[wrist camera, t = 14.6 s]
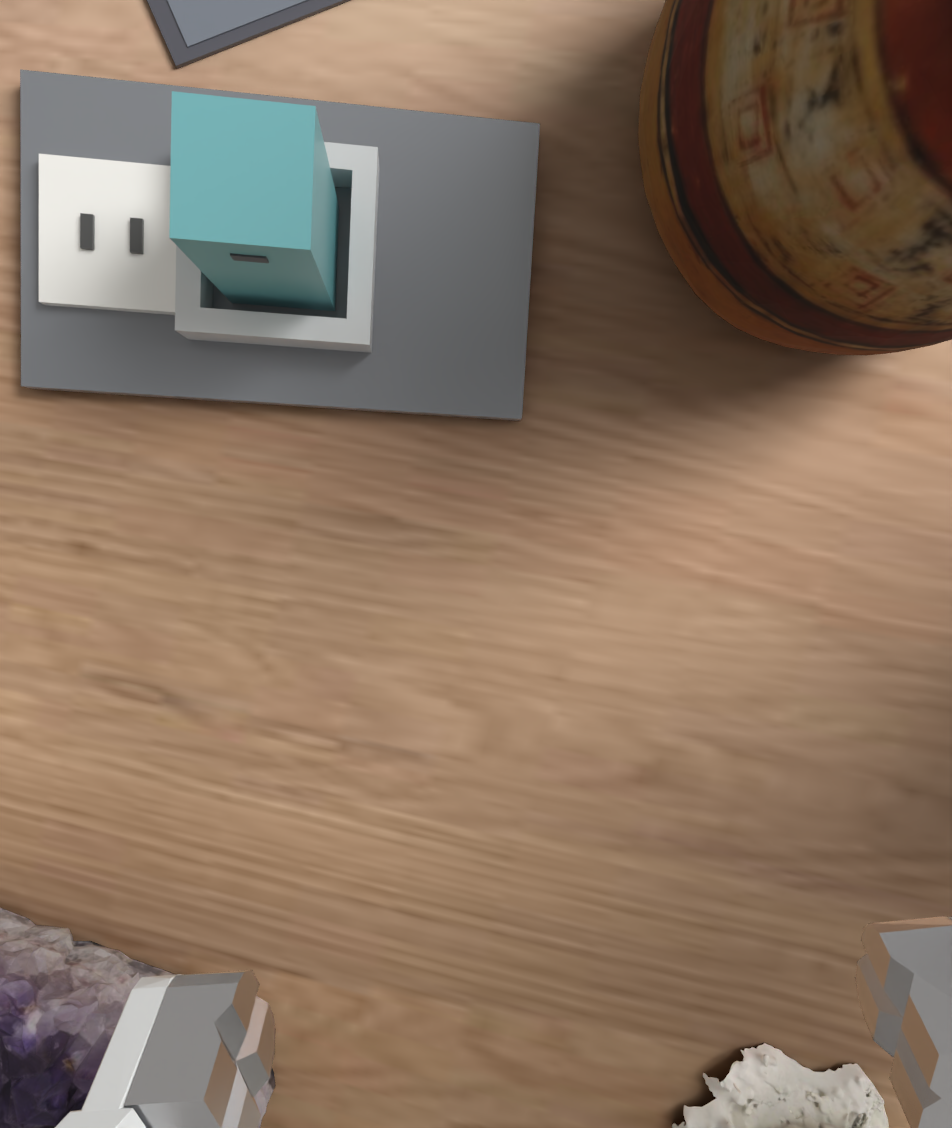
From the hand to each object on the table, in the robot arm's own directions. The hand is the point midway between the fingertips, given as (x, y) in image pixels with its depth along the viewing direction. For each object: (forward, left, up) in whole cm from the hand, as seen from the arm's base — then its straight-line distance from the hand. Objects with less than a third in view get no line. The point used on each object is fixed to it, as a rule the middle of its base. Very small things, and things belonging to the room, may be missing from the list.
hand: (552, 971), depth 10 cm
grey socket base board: (+1, -18, -27) cm, 33 cm away
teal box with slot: (+1, -18, -26) cm, 32 cm away
